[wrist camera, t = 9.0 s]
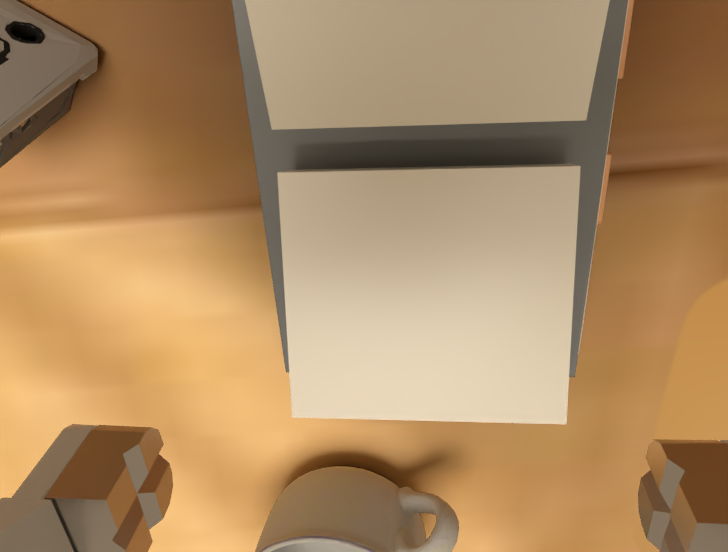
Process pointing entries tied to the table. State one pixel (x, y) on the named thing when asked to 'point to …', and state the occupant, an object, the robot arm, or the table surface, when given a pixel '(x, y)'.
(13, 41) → the electrical switch
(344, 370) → the block
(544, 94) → the rocker
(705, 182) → the table surface
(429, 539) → the teacup
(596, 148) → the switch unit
